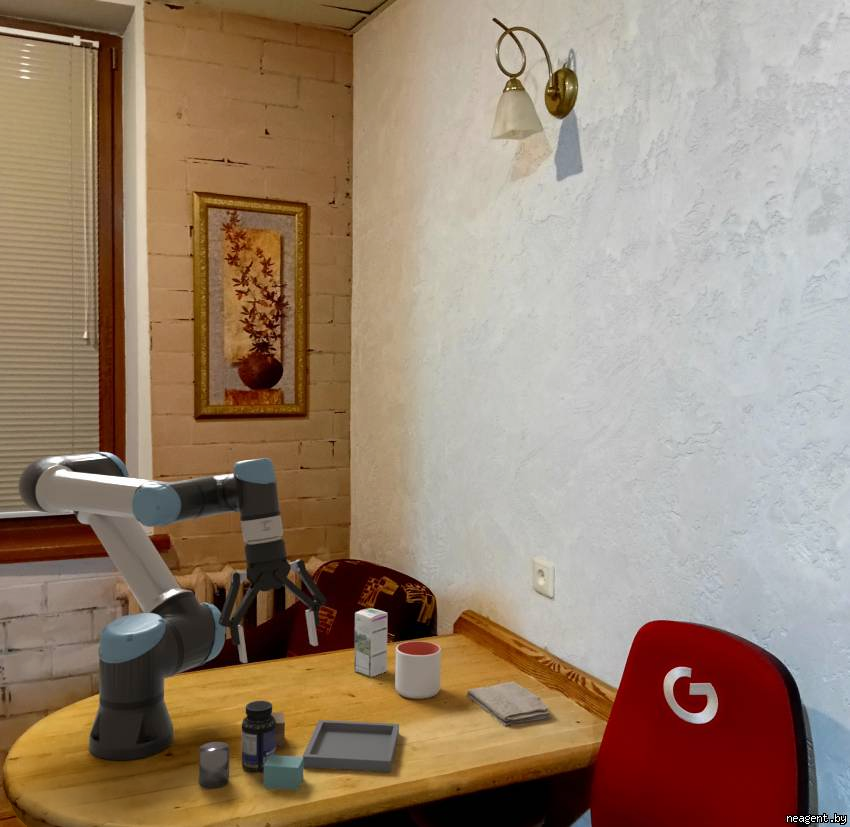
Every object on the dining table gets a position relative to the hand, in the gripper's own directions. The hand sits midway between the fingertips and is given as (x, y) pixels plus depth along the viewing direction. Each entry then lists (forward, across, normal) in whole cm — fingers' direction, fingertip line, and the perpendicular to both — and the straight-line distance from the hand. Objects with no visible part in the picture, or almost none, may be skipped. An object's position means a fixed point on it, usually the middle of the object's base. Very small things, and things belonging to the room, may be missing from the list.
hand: (279, 653), depth 162 cm
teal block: (+20, -5, -10) cm, 23 cm away
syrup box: (+17, +29, +34) cm, 48 cm away
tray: (+20, +11, -3) cm, 23 cm away
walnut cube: (+18, -3, +6) cm, 19 cm away
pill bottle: (+18, -7, -2) cm, 20 cm away
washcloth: (+24, +48, +4) cm, 54 cm away
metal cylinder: (+18, -16, -5) cm, 24 cm away
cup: (+20, +34, +18) cm, 44 cm away
